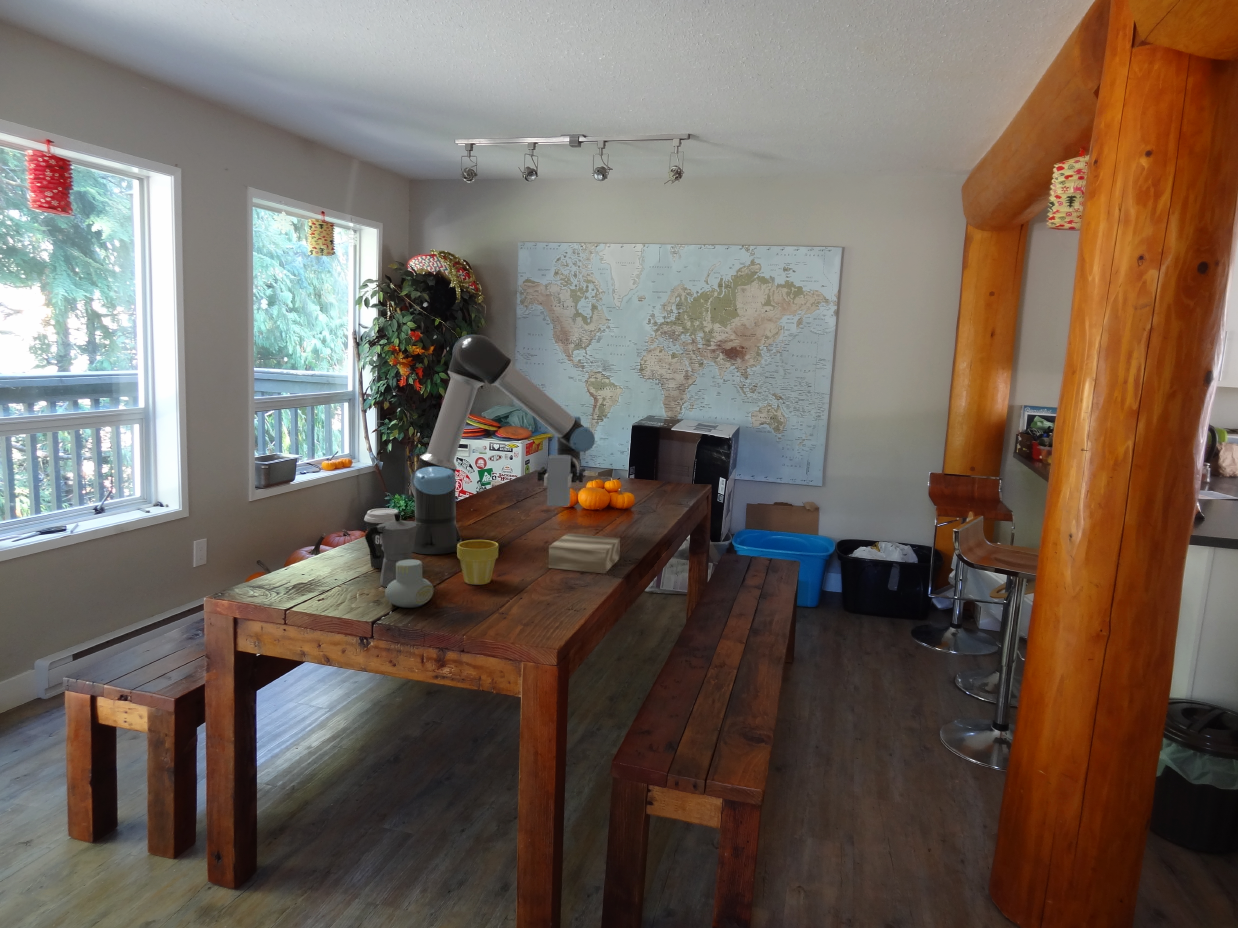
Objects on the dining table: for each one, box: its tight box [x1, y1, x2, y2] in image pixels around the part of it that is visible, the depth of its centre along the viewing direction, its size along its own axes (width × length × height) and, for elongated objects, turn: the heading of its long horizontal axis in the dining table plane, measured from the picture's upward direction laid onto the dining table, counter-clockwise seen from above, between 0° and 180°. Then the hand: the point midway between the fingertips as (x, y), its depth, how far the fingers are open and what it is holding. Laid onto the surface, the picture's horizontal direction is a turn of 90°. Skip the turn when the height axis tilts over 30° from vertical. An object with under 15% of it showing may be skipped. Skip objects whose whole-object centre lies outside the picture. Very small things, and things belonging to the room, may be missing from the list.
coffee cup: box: [363, 507, 402, 570], centre depth 213 cm, size 10×10×15 cm
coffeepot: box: [364, 512, 421, 588], centre depth 197 cm, size 15×9×18 cm, turn 137°
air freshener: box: [384, 559, 434, 609], centre depth 183 cm, size 11×8×10 cm
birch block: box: [548, 533, 621, 574], centre depth 221 cm, size 16×16×6 cm
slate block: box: [546, 454, 571, 507], centre depth 229 cm, size 6×6×14 cm
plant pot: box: [456, 539, 500, 586], centre depth 202 cm, size 10×10×10 cm
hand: (557, 481), depth 223 cm, fingers closed on slate block, 6 cm apart
